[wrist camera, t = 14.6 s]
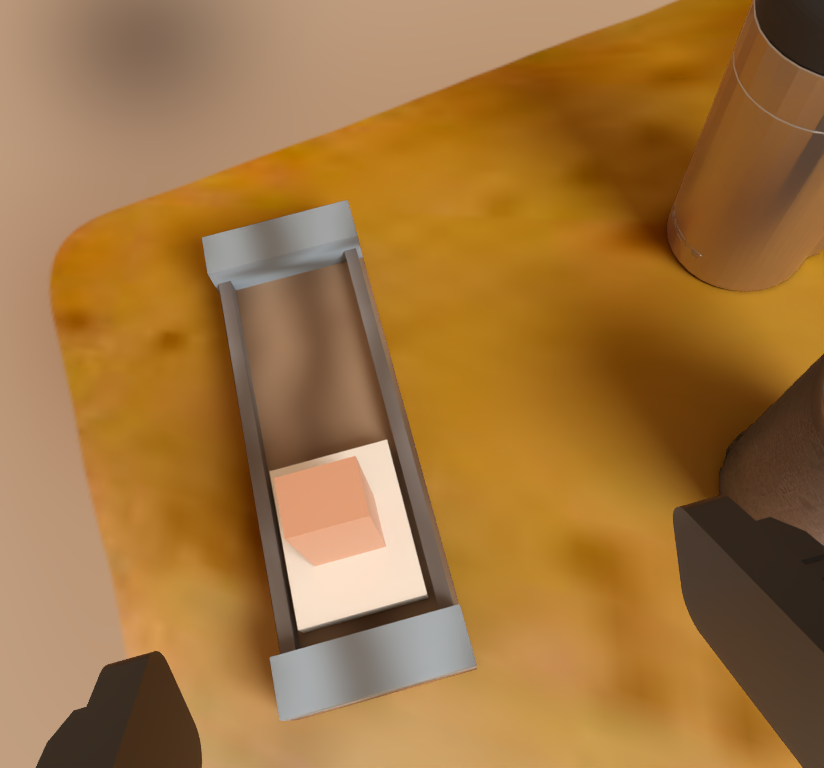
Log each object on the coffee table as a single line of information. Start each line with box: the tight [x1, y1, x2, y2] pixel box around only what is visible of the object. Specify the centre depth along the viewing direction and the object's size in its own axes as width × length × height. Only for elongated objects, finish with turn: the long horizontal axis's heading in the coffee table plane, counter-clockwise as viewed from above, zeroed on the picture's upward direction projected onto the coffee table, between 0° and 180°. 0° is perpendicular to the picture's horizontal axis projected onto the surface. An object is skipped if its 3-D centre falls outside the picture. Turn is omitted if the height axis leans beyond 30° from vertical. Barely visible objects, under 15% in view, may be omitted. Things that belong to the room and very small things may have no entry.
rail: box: [202, 200, 476, 721], centre depth 43 cm, size 10×30×4 cm, turn 15°
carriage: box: [269, 440, 429, 633], centre depth 37 cm, size 7×9×8 cm
